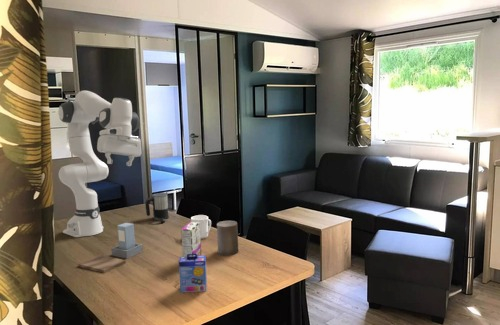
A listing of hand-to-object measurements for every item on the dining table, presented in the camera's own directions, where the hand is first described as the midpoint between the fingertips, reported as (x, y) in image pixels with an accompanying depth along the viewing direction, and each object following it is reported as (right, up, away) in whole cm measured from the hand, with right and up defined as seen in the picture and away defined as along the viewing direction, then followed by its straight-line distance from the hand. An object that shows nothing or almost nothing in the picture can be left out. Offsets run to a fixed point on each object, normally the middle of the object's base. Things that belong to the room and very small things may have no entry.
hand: (119, 164), depth 178 cm
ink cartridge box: (+36, -47, -25) cm, 64 cm away
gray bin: (-1, -42, +14) cm, 44 cm away
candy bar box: (+31, -43, +2) cm, 53 cm away
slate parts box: (-1, -42, +14) cm, 44 cm away
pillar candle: (+47, -41, +13) cm, 63 cm away
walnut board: (-8, -44, +1) cm, 45 cm away
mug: (+32, -38, +36) cm, 61 cm away
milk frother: (+3, -34, +70) cm, 78 cm away
